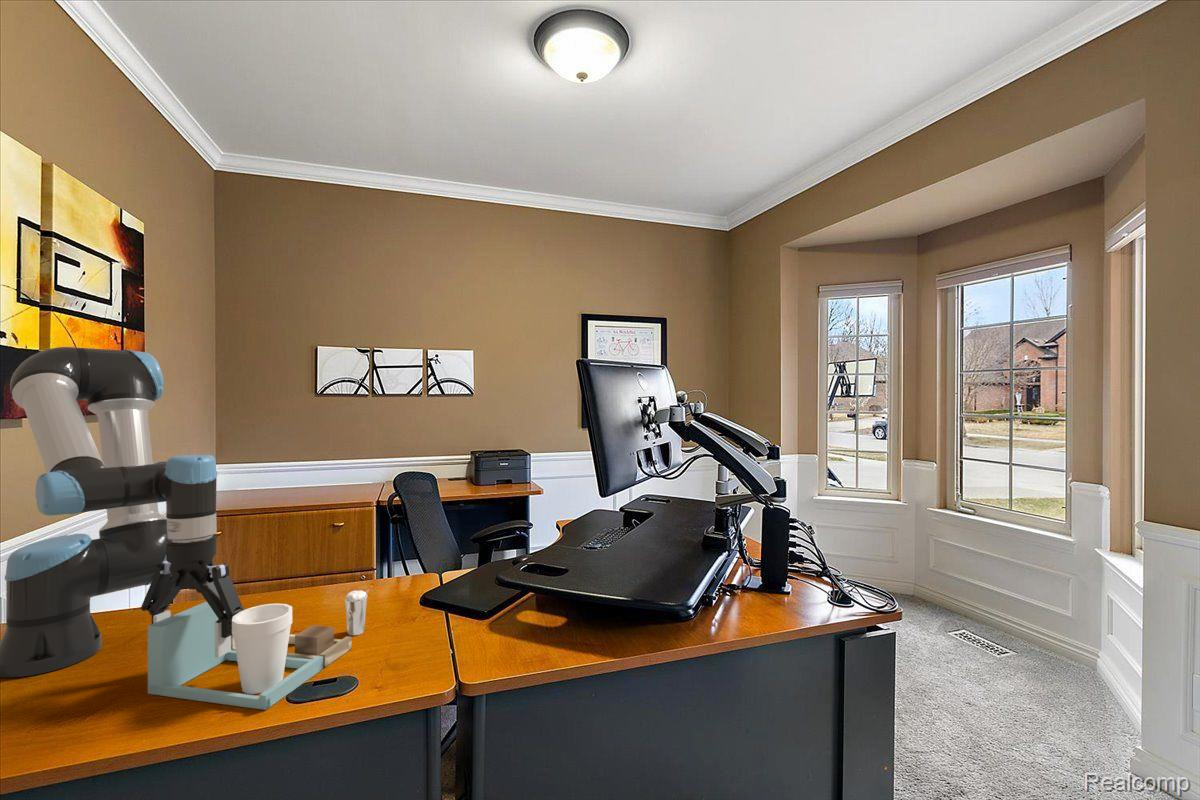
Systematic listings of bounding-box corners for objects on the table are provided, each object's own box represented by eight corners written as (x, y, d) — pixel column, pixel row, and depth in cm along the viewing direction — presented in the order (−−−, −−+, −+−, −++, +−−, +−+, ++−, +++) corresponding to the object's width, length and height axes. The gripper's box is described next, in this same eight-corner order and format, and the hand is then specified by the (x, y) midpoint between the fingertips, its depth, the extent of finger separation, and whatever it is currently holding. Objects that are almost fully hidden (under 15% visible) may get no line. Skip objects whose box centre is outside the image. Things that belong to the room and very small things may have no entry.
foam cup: (222, 687, 97) (222, 615, 97) (276, 666, 105) (276, 599, 104) (247, 704, 92) (247, 629, 91) (302, 681, 99) (302, 611, 99)
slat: (280, 662, 106) (280, 649, 106) (309, 643, 114) (309, 632, 114) (325, 667, 104) (325, 655, 104) (351, 648, 112) (351, 636, 112)
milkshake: (361, 638, 117) (362, 592, 117) (340, 636, 118) (340, 590, 118) (374, 629, 121) (374, 585, 121) (353, 627, 122) (353, 583, 122)
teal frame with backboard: (147, 693, 94) (147, 625, 94) (217, 656, 108) (217, 596, 108) (265, 710, 90) (266, 638, 90) (322, 668, 103) (323, 606, 103)
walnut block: (294, 660, 107) (294, 635, 107) (312, 648, 112) (312, 625, 112) (316, 663, 106) (317, 637, 106) (333, 651, 111) (334, 627, 111)
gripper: (116, 539, 99) (116, 654, 99) (231, 546, 95) (231, 666, 95) (156, 529, 107) (157, 636, 107) (265, 535, 102) (265, 647, 102)
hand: (192, 650), depth 101 cm, fingers open, 13 cm apart
